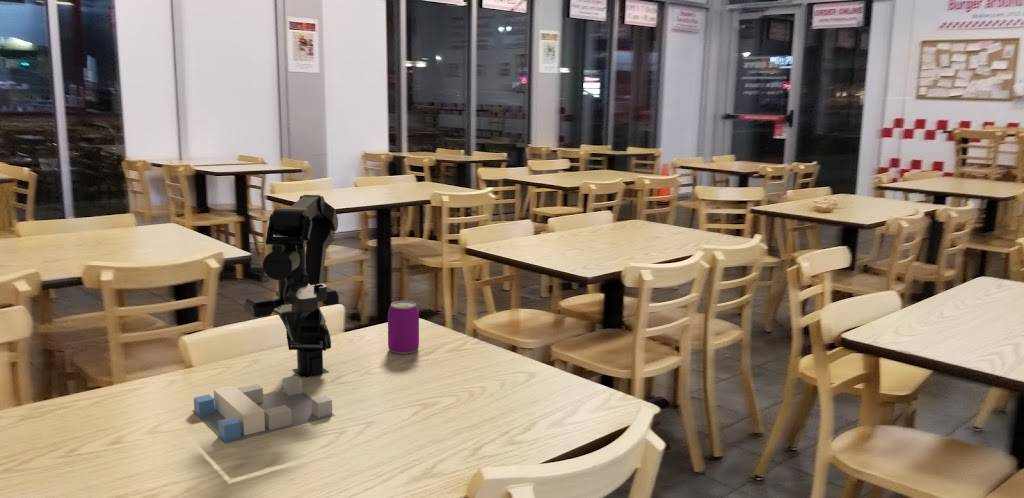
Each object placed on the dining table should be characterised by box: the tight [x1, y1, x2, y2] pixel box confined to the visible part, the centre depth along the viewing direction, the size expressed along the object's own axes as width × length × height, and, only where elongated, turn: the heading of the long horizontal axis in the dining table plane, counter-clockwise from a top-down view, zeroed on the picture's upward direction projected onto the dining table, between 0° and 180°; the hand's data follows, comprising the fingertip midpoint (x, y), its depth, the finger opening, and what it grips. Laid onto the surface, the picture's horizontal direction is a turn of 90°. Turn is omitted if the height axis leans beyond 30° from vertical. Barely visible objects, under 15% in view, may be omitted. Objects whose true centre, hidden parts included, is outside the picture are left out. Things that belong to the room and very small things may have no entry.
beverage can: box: [387, 300, 420, 355], centre depth 204 cm, size 8×8×12 cm
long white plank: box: [213, 385, 265, 435], centre depth 160 cm, size 16×4×4 cm, turn 39°
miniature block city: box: [191, 375, 336, 445], centre depth 163 cm, size 19×22×4 cm
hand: (294, 340), depth 173 cm, fingers closed
